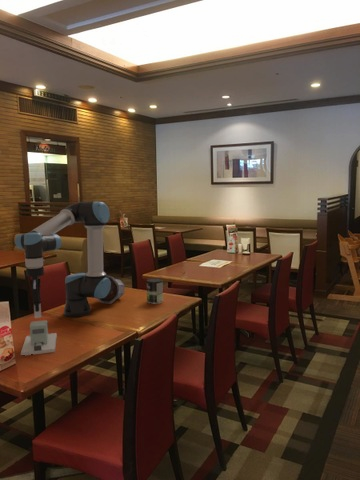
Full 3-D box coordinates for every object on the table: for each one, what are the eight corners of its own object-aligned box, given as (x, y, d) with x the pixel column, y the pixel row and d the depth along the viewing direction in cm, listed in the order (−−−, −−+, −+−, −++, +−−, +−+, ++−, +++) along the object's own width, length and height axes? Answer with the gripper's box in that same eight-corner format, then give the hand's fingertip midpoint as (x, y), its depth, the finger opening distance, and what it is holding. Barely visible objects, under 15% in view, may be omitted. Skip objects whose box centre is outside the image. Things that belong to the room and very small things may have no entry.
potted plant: (105, 274, 261) (80, 273, 232) (129, 277, 255) (107, 276, 227) (102, 301, 259) (77, 302, 231) (126, 304, 254) (103, 306, 225)
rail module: (48, 338, 184) (47, 320, 183) (47, 344, 177) (46, 325, 176) (32, 340, 182) (31, 321, 181) (30, 346, 175) (29, 326, 174)
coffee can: (149, 304, 241) (148, 282, 239) (145, 300, 251) (144, 278, 249) (165, 302, 244) (164, 281, 242) (161, 298, 254) (160, 277, 252)
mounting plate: (56, 335, 191) (56, 329, 191) (54, 351, 172) (54, 344, 172) (26, 339, 188) (26, 332, 187) (21, 355, 169) (20, 348, 168)
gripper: (42, 269, 170) (45, 321, 173) (44, 263, 182) (47, 312, 185) (24, 270, 168) (27, 322, 171) (27, 264, 181) (30, 314, 183)
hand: (37, 317), depth 178 cm, fingers closed
